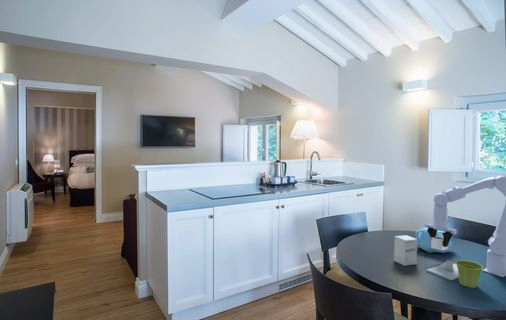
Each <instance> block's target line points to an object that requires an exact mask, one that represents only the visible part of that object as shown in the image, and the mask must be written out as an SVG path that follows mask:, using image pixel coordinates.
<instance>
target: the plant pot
mask: <svg viewBox="0 0 506 320" xmlns="http://www.w3.org/2000/svg"><path fill="white" fill-rule="evenodd" d="M455 264H457V267H458V274H459V278H458V282H459V284H460V285H461V286H463V287H467V288H468V289H469V288H470V289H476V288H478V285H479V280H480V278H481V277H480V276H481V273H482V272H483V269H484V266H483V264H480V263H478V262H475V261H471V260H466V259H465V260H463V259H462V260H461V259H459V260H456V261H455Z"/></svg>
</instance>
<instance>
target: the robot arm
mask: <svg viewBox="0 0 506 320" xmlns="http://www.w3.org/2000/svg"><path fill="white" fill-rule="evenodd" d="M494 188H496V190H497V191H499V192H501V193H502V195H503V196H504V197H505V198H506V175H504V174H499V175H496V176H490V177H488V178H484V179H482V180H479V181H477V182H474V183H471V184H468V185H467V186H464V187H460V186H455V185H454V186H453V187H452V188H450V189H448V190H442V191H441V192H438V193H436V194H435V195H434V197H433V202H434V203H433V223H429V222H426V223H424V227H426V228H427V227H428V229H427V231H428V233H429V235H430V238H431V237H434V236H436V233H437V230H440V231H444V232H445V233H443V237H444V247H448V244H449V241H450V239H451V237H452V236H453V237H454V235H457V234H458V230H457V229H455V228H452V227H449V226H448V203H454V202H456V201H459V200H462V199H465V198H466V195H467V194H470V193H474V192H477V191H480V190H484V189H490V190H494ZM497 221H498V222H497V224H496V228H495V230H494V232H493V234H492V236H491V237H489V238H488V240H487V244H488V246H489V249H487V250H486V251H487V252H486V267H485V268H483V269H482V272H485V273H488V274H491V275H494V276H498V277H501V278H504V277H506V199H505V201H504V204H503V207H502V210H501V213H500V216H499V218H498V220H497ZM453 237H452V238H453Z"/></svg>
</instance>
